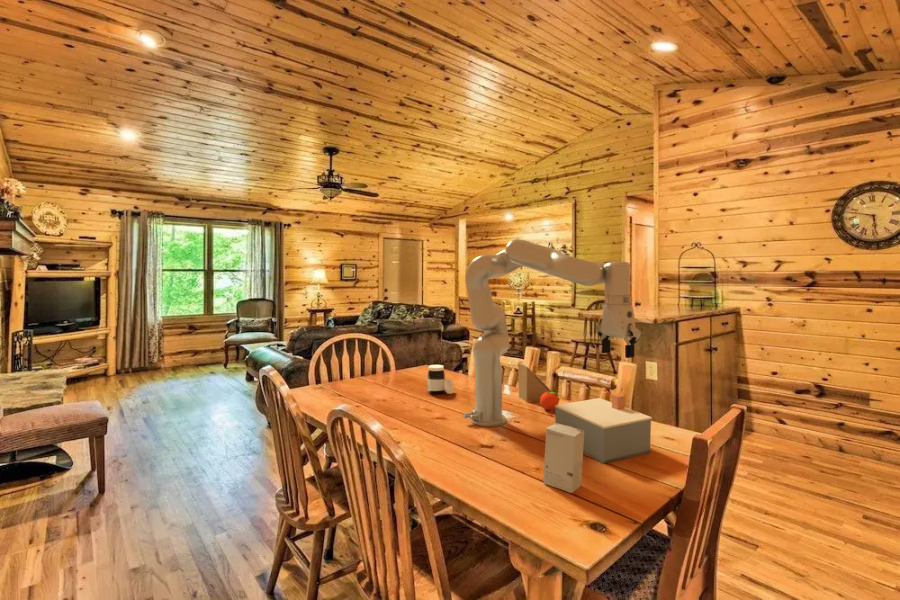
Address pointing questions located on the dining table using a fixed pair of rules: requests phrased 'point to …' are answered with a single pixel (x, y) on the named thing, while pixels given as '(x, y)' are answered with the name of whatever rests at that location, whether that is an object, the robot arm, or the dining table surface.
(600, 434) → the carton
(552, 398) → the tomato
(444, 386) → the spread jar
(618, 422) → the lid flap
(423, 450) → the dining table surface
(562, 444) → the skincare box
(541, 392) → the sandwich container
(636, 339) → the robot arm
